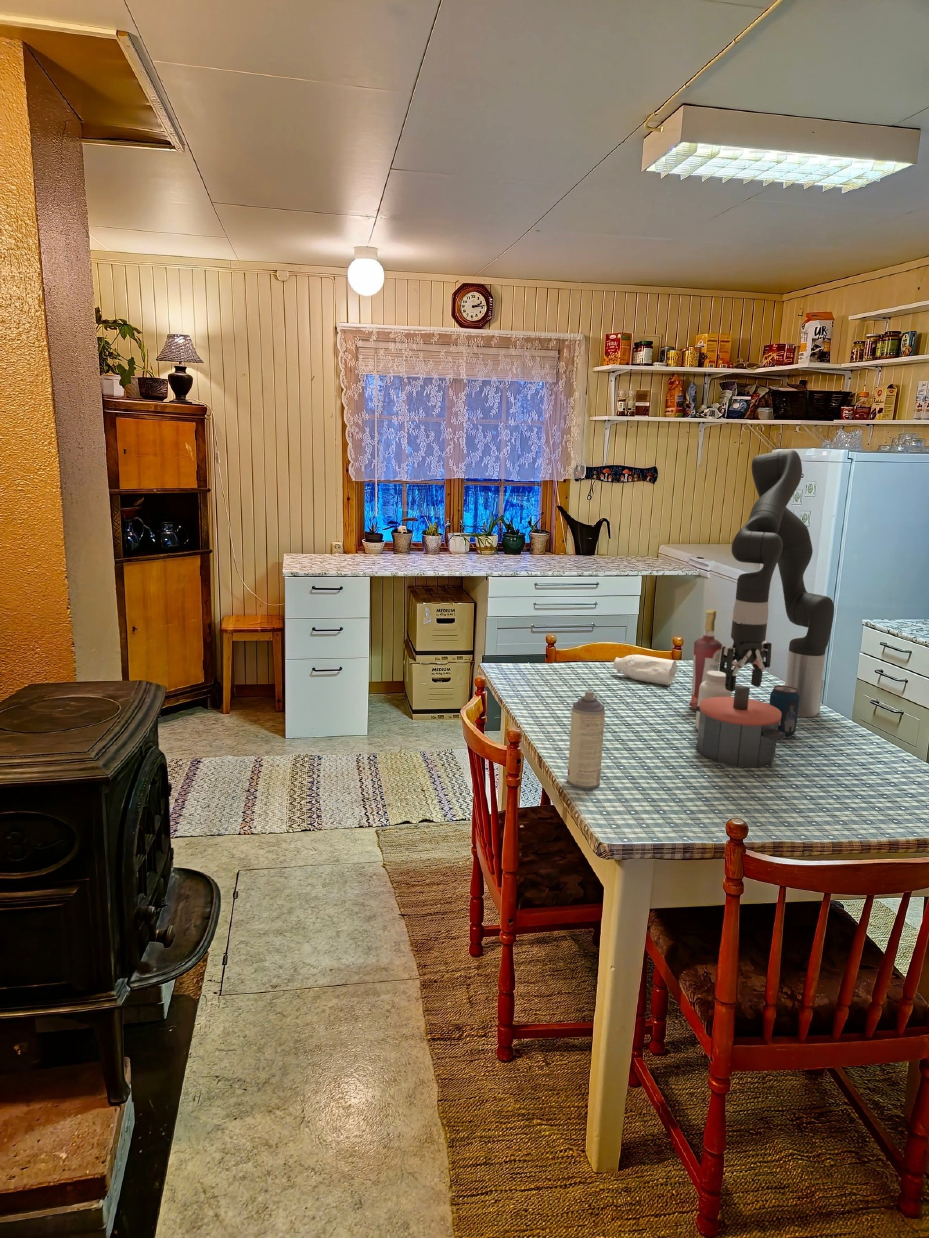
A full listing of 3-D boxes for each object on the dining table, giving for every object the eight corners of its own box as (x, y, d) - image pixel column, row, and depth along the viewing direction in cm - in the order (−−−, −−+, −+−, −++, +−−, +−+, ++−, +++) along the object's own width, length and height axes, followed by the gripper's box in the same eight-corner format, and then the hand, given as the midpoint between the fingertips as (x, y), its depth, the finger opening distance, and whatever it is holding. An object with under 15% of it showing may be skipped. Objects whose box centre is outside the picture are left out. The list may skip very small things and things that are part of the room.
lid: (736, 701, 200) (739, 673, 199) (797, 723, 185) (801, 693, 184) (683, 710, 192) (685, 681, 190) (743, 734, 176) (746, 703, 175)
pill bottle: (729, 736, 202) (735, 678, 199) (696, 733, 204) (701, 675, 201) (725, 726, 210) (731, 670, 207) (693, 723, 211) (699, 667, 208)
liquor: (705, 715, 218) (715, 614, 212) (682, 709, 223) (691, 609, 217) (720, 711, 222) (730, 611, 217) (697, 704, 228) (706, 606, 222)
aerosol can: (595, 776, 174) (601, 687, 170) (603, 789, 167) (610, 696, 163) (563, 776, 173) (569, 686, 169) (571, 789, 166) (577, 696, 162)
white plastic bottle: (619, 673, 259) (621, 648, 257) (676, 683, 249) (679, 658, 247) (609, 678, 252) (611, 653, 251) (668, 688, 242) (670, 663, 241)
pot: (723, 733, 204) (727, 695, 202) (800, 764, 185) (805, 723, 183) (673, 743, 196) (677, 703, 194) (748, 777, 176) (753, 733, 174)
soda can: (773, 727, 210) (778, 683, 208) (799, 734, 205) (805, 689, 203) (761, 733, 205) (766, 687, 203) (787, 740, 200) (793, 694, 198)
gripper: (757, 614, 190) (751, 680, 193) (714, 619, 183) (708, 687, 186) (784, 620, 184) (777, 688, 187) (741, 625, 177) (734, 696, 180)
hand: (742, 688), depth 187 cm, fingers open, 8 cm apart
